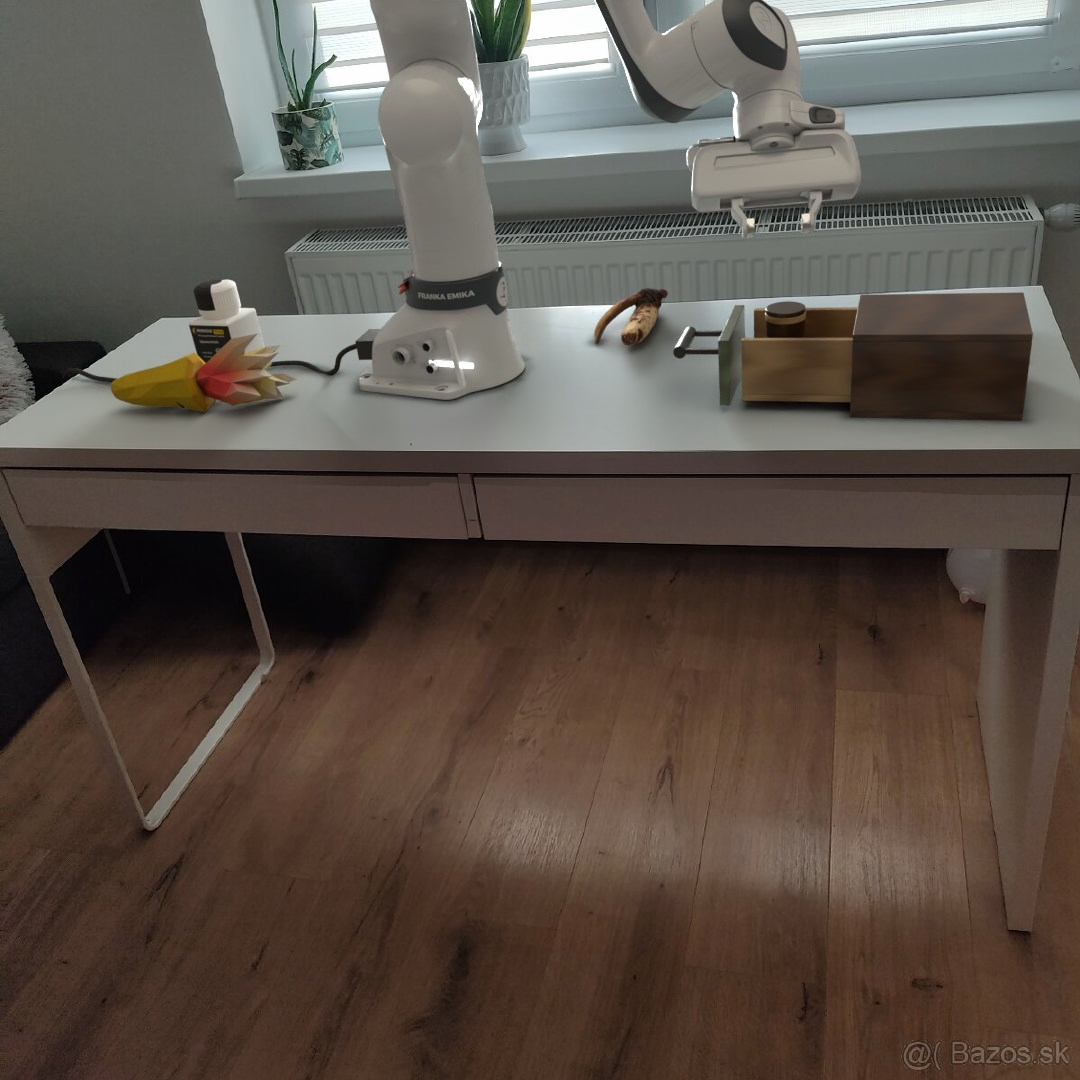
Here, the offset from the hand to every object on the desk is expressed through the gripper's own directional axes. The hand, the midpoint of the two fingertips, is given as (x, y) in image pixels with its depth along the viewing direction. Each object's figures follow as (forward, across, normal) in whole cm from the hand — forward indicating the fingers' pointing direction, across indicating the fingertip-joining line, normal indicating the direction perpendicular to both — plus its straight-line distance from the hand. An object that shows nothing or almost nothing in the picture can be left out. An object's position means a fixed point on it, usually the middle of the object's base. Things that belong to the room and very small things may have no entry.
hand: (778, 233), depth 128 cm
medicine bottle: (+1, -78, +22) cm, 81 cm away
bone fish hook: (+1, -19, +21) cm, 29 cm away
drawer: (+18, -2, +3) cm, 19 cm away
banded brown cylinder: (+17, 0, +3) cm, 17 cm away
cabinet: (+22, +16, 0) cm, 27 cm away
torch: (+13, -76, +10) cm, 78 cm away
